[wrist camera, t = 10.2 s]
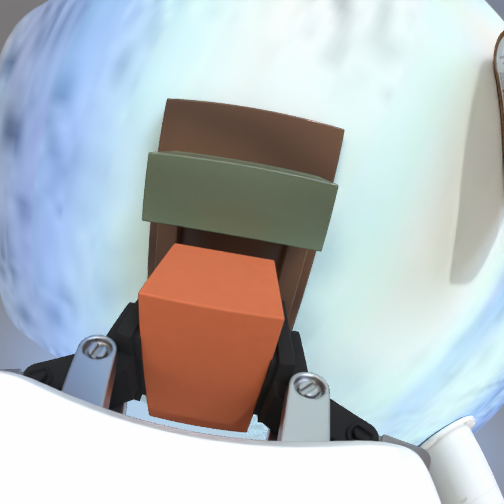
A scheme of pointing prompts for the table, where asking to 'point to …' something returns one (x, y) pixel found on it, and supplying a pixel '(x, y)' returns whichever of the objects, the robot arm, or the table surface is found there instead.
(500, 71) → the tin
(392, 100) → the table surface
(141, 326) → the block
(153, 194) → the cradle
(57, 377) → the robot arm
